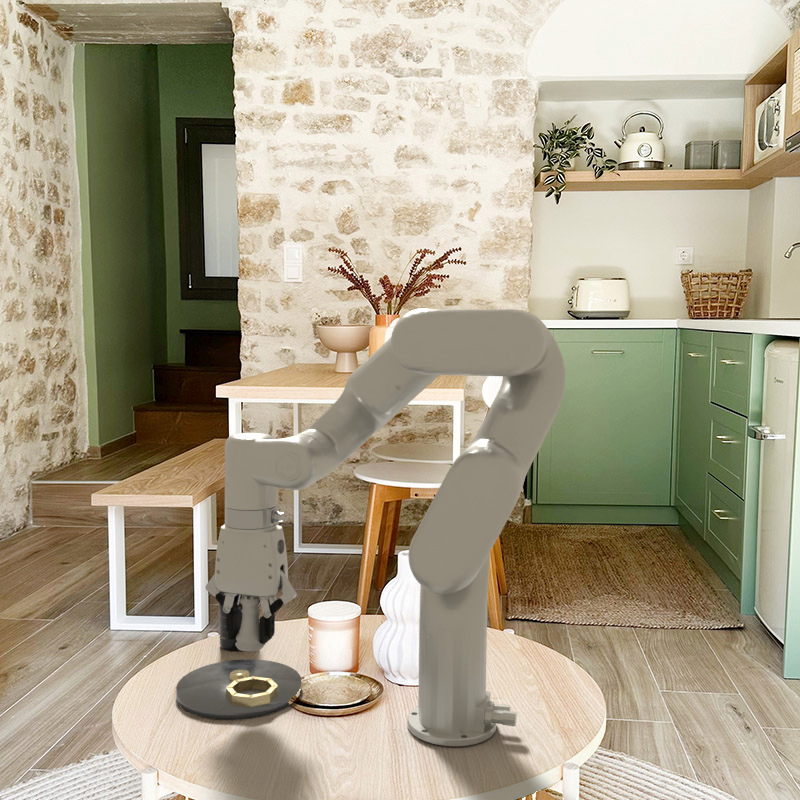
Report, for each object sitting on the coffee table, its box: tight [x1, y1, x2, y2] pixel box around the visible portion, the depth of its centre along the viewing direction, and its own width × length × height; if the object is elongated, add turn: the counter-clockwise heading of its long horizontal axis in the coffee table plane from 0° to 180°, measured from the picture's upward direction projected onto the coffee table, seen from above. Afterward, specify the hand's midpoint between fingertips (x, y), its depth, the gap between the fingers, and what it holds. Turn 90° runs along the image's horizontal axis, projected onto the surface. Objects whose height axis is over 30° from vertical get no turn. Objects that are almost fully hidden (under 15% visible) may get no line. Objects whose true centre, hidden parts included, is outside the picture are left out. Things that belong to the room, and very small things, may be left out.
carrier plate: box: [175, 658, 302, 721], centre depth 134 cm, size 19×19×3 cm
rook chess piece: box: [235, 595, 266, 653], centre depth 128 cm, size 4×4×8 cm
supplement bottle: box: [218, 595, 243, 653], centre depth 153 cm, size 7×7×12 cm
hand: (250, 637), depth 128 cm, fingers closed on rook chess piece, 4 cm apart
